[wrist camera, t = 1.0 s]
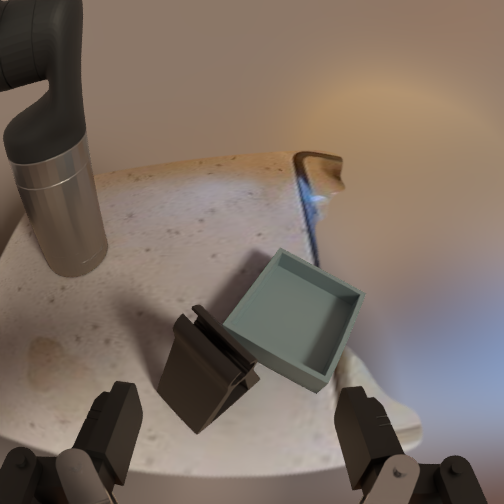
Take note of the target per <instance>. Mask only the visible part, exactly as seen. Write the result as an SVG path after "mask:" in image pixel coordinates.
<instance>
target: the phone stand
mask: <svg viewBox="0 0 504 504" xmlns="http://www.w3.org/2000/svg"><path fill="white" fill-rule="evenodd" d="M192 310H193V311H194V312H195V313H196V314H197V315H198V317H197V319H196V320H195V322H194V324H193V323H192V322H191V321H190V320H189V319H188V318H187V317H186V316H185V315H184V314H182V315H181V316H180V317H179V318H178V319H177V321H176V322H175V324H174V326H173V332H174V335H175V339H174V343H173V345H172V348H171V351H170V354H169V357H168V360H167V363H166V366H165V368H164V371H163V374H162V377H161V380H160V383H159V386H158V389H157V392H158V393H159V394H160V395H161V397H162V398H163V399H164V400H165V401H166V402H167V403H168V404H169V406H170V407H171V408H172V409H173V410H174V411H175V412H176V413H177V414H178V415H179V416H180V418H181V419H182V420H183V421H184V422H185V423H186V424H187V425H188V426H189V427H190V428H191V429H192V430H193V431H194V432H195V433H196V434H199V433H200V432H201V431H202V430H204V429H205V428H206V427H207V426H208V425H210V424H211V423H212V422H213V421H214V420H215V419H217V418H218V417H219V416H220V415H221V414H222V413H224V412H225V411H226V410H227V409H228V408H229V407H230V406H232V405H233V404H234V403H235V402H236V401H237V400H238V399H239V398H240V397H242V396H243V395H244V394H245V393H246V392H247V391H248V390H249V389H250V388H251V387H253V386H254V385H255V384H256V383H257V382H258V381H259V380H260V378H259V376H258V375H257V374H256V373H255V371H254V370H253V369H254V367H255V365H256V363H257V361H258V359H257V358H255V357H254V356H253V355H252V354H251V353H250V352H249V351H248V350H247V349H246V348H245V347H244V346H243V345H241V344H240V343H239V342H238V341H237V340H236V339H235V338H234V337H233V336H232V335H231V334H230V333H229V332H228V331H227V330H226V329H225V328H224V327H223V326H222V325H221V324H220V323H218V322H217V321H216V320H215V319H214V318H213V317H212V316H211V315H210V314H209V313H208V312H207V311H206V310H205V309H204V308H203V307H202V306H201V305H195V306H192Z"/></svg>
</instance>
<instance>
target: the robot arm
mask: <svg viewBox="0 0 504 504" xmlns="http://www.w3.org/2000/svg"><path fill="white" fill-rule="evenodd" d="M82 5H83V4H82V0H8V1H1V0H0V92H2V91H7V90H10V89H14V88H17V87H20V86H24V85H27V84H31V83H34V82H38V81H42V80H48V81H49V90H48V91H47V92H46V93H45V94H44V95H43V96H42V97H41V98H40V99H39V100H38V101H37V102H35V103H34V104H32V105H31V106H29V107H28V108H26V109H25V110H24V111H23V112H21V113H19V114H18V115H17V116H16V117H15V118H13V119H12V121H11V122H10V123H9V124H8V126H7V127H6V129H5V131H4V135H3V141H4V146H5V150H6V153H7V157H8V160H9V163H10V166H11V170H12V173H13V176H14V179H15V182H16V185H17V188H18V191H19V194H20V197H21V199H22V202H23V205H24V208H25V210H26V213H27V215H28V218H29V220H30V223H31V225H32V228H33V230H34V233H35V235H36V237H37V240H38V242H39V244H40V247H41V249H42V251H43V254H44V256H45V258H46V260H47V262H48V264H49V266H50V268H51V269H52V270H53V271H54V272H55V273H56V274H58V275H60V276H64V277H78V276H81V275H84V274H87V273H89V272H90V271H92V270H93V269H95V268H96V267H97V266H98V265H99V264H100V263H101V262H102V261H103V259H104V257H105V256H106V253H107V249H108V243H107V238H106V234H105V230H104V226H103V221H102V216H101V212H100V207H99V202H98V197H97V192H96V187H95V182H94V176H93V171H92V165H91V158H90V153H89V146H88V139H87V132H86V123H85V116H84V108H83V98H82V84H81V48H82V28H83V7H82ZM142 419H143V411H142V406H141V403H140V399H139V395H138V392H137V388H136V385H135V384H134V383H128V382H121V381H116V382H115V383H114V385H113V387H112V389H111V391H110V392H103V393H101V394H100V395H99V396H98V397H97V398H96V399H95V400H94V402H93V404H92V406H91V408H90V411H89V413H88V415H87V419H85V421H84V423H83V426H82V428H81V430H80V432H79V434H78V436H77V439H76V441H75V443H74V445H73V447H72V448H71V449H67V450H65V451H63V452H61V453H60V454H59V455H58V457H37V456H35V454H34V453H33V452H32V451H31V450H30V449H28V448H25V447H17V448H14V449H12V450H11V451H10V452H9V453H8V454H7V456H6V459H5V460H4V463H3V465H2V467H1V469H0V504H118V502H117V500H116V498H115V496H114V494H113V492H112V491H113V487H114V484H117V485H121V486H123V485H124V483H125V479H126V476H127V472H128V468H129V465H130V461H131V458H132V454H133V451H134V447H135V444H136V440H137V437H138V434H139V430H140V427H141V424H142ZM334 424H335V429H336V432H337V436H338V439H339V443H340V446H341V450H342V454H343V457H344V461H345V464H346V468H347V471H348V475H349V479H350V483H351V487H352V490H358V489H362V492H363V496H362V498H361V500H360V502H359V504H487V501H486V499H485V496H484V494H483V492H482V489H481V487H480V485H479V483H478V480H477V478H476V476H475V474H474V471H473V469H472V467H471V465H470V463H469V462H468V461H467V460H466V459H465V458H463V457H461V456H456V455H455V456H450V457H447V458H445V459H444V461H443V462H442V463H441V464H419V463H417V461H416V460H415V459H413V458H411V457H410V456H407V455H405V454H404V452H403V450H402V447H401V445H400V443H399V440H398V438H397V436H396V434H395V431H394V429H393V427H392V425H391V422H390V420H389V418H388V417H387V414H386V411H385V409H384V407H383V405H382V404H381V403H380V402H379V401H378V400H377V399H375V398H374V397H371V398H367V396H366V393H365V391H364V389H363V387H362V386H357V387H347V388H343V389H342V390H341V394H340V397H339V401H338V404H337V407H336V411H335V415H334Z"/></svg>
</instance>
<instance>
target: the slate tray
mask: <svg viewBox="0 0 504 504" xmlns="http://www.w3.org/2000/svg"><path fill="white" fill-rule="evenodd" d="M364 297H365V293H364V292H362V291H361V290H359V289H357V288H355V287H353V286H351V285H349V284H348V283H346V282H344V281H342V280H340V279H338V278H336V277H335V276H333V275H331V274H329V273H327V272H325V271H323V270H322V269H320V268H318V267H316V266H314V265H312V264H310V263H308V262H306V261H305V260H303V259H301V258H299V257H297V256H295V255H293V254H291V253H289V252H288V251H286V250H284V249H282V248H279V250H278V251H277V252H276V254H275V255H274V257H273V258H272V259H271V261H270V262H269V263H268V265H267V266H266V267H265V269H264V270H263V271H262V273H261V274H260V275H259V277H258V278H257V279H256V281H255V282H254V283H253V285H252V286H251V287H250V289H249V290H248V291H247V293H246V294H245V295H244V297H243V298H242V299H241V301H240V302H239V303H238V305H237V306H236V307H235V309H234V310H233V311H232V313H231V314H230V315H229V317H228V318H227V319H226V320H225V322H224V323H223V324H222V326H223V327H224V328H225V329H226V330H227V331H228V332H229V333H230V334H231V335H232V336H233V337H234V338H235V339H236V340H237V341H238V342H239V343H240V344H241V345H243V346H244V347H245V348H246V349H247V350H248V351H249V352H250V353H251V354H252V355H253V356H254V357H255V358H257V359H258V361H257V362H259V363H261V364H263V365H264V366H266V367H268V368H270V369H272V370H273V371H275V372H277V373H279V374H281V375H282V376H284V377H286V378H288V379H290V380H292V381H293V382H295V383H297V384H299V385H301V386H303V387H305V388H307V389H309V390H310V391H312V392H314V393H316V394H317V393H318V392H319V391H320V390H321V389H322V388H324V387H325V386H326V385H327V384H328V383H329V381H330V378H331V376H332V374H333V372H334V370H335V368H336V365H337V363H338V361H339V359H340V356H341V354H342V352H343V349H344V347H345V345H346V342H347V340H348V337H349V335H350V333H351V330H352V328H353V325H354V323H355V320H356V318H357V315H358V313H359V310H360V308H361V305H362V302H363V300H364Z"/></svg>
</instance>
